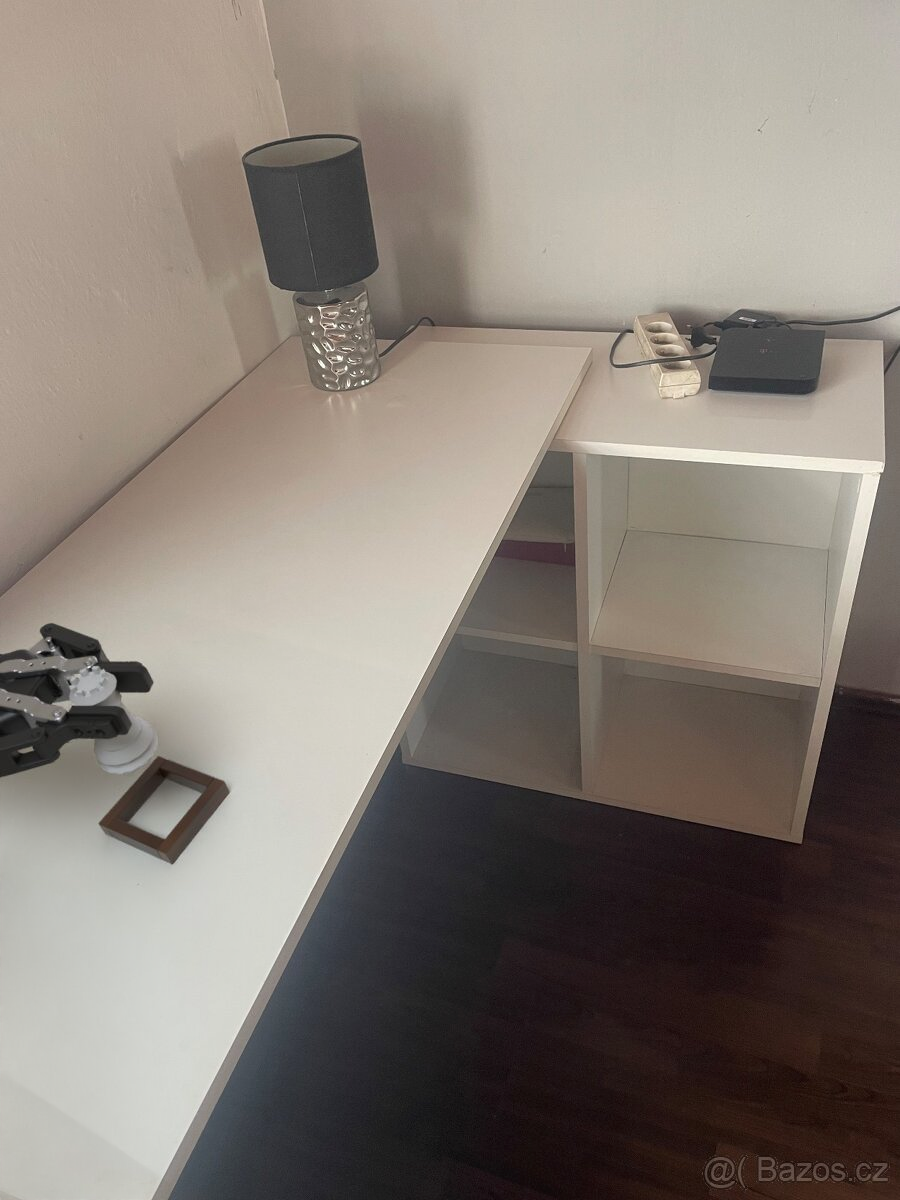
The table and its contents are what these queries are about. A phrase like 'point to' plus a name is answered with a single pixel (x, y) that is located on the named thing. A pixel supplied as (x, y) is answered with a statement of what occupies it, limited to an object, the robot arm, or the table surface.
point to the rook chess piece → (123, 749)
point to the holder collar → (186, 827)
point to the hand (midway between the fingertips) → (136, 698)
